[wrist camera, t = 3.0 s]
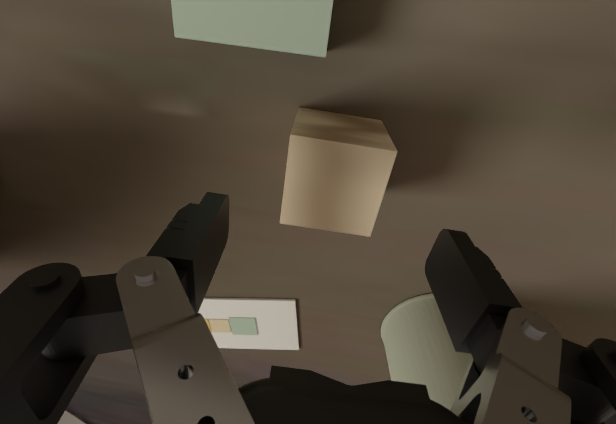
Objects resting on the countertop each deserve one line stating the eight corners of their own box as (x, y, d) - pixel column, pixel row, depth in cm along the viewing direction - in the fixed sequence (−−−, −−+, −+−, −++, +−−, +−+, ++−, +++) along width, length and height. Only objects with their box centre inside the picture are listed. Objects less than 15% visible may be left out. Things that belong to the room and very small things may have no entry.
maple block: (381, 120, 19) (397, 151, 14) (361, 192, 21) (370, 236, 17) (298, 106, 18) (290, 134, 14) (288, 181, 21) (279, 223, 17)
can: (443, 367, 31) (498, 535, 21) (362, 341, 30) (380, 509, 20) (510, 312, 27) (621, 494, 17) (417, 278, 25) (479, 456, 15)
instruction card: (295, 298, 27) (295, 301, 27) (298, 348, 31) (298, 351, 31) (183, 297, 28) (181, 299, 27) (200, 345, 31) (198, 348, 31)
